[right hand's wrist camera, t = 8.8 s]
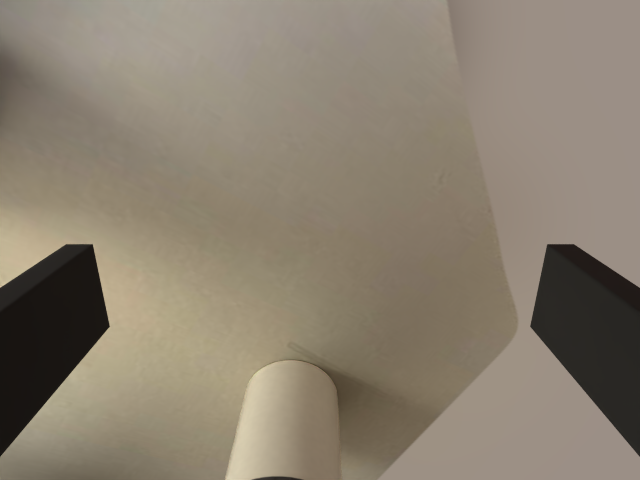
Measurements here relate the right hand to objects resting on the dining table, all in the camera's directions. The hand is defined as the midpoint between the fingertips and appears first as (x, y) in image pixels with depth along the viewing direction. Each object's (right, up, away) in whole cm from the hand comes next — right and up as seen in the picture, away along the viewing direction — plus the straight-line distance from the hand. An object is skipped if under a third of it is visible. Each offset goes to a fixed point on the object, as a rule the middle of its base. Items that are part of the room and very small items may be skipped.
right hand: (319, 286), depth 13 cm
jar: (-3, -16, +33) cm, 37 cm away
